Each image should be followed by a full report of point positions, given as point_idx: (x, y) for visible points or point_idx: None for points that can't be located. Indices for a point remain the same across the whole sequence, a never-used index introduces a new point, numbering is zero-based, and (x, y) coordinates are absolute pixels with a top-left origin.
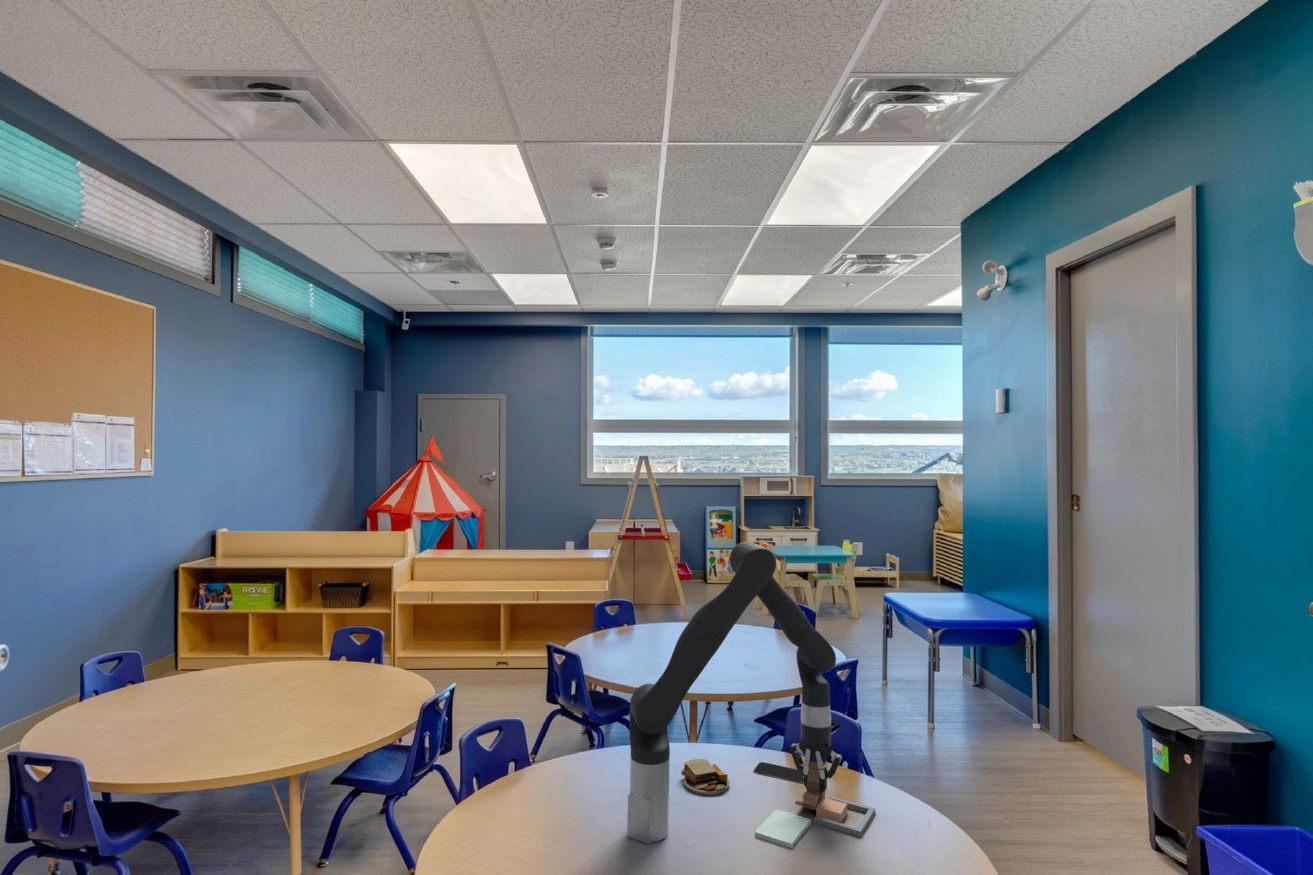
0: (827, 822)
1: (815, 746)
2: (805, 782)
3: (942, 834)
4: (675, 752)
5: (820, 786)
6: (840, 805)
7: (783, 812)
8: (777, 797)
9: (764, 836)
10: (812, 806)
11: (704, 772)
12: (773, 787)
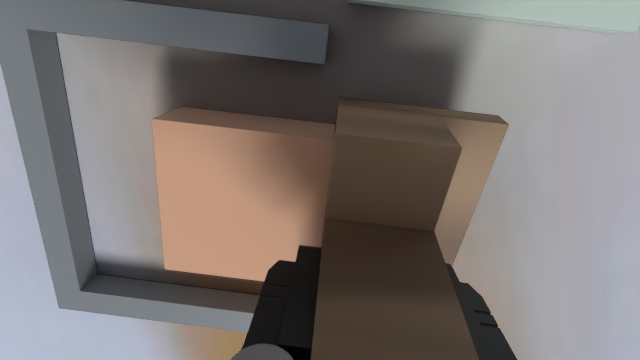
0: (227, 13)
1: None
2: (470, 307)
3: None
4: None
5: (308, 280)
6: (193, 231)
7: (574, 2)
8: (597, 244)
9: None
10: (357, 104)
11: None
12: (620, 336)
